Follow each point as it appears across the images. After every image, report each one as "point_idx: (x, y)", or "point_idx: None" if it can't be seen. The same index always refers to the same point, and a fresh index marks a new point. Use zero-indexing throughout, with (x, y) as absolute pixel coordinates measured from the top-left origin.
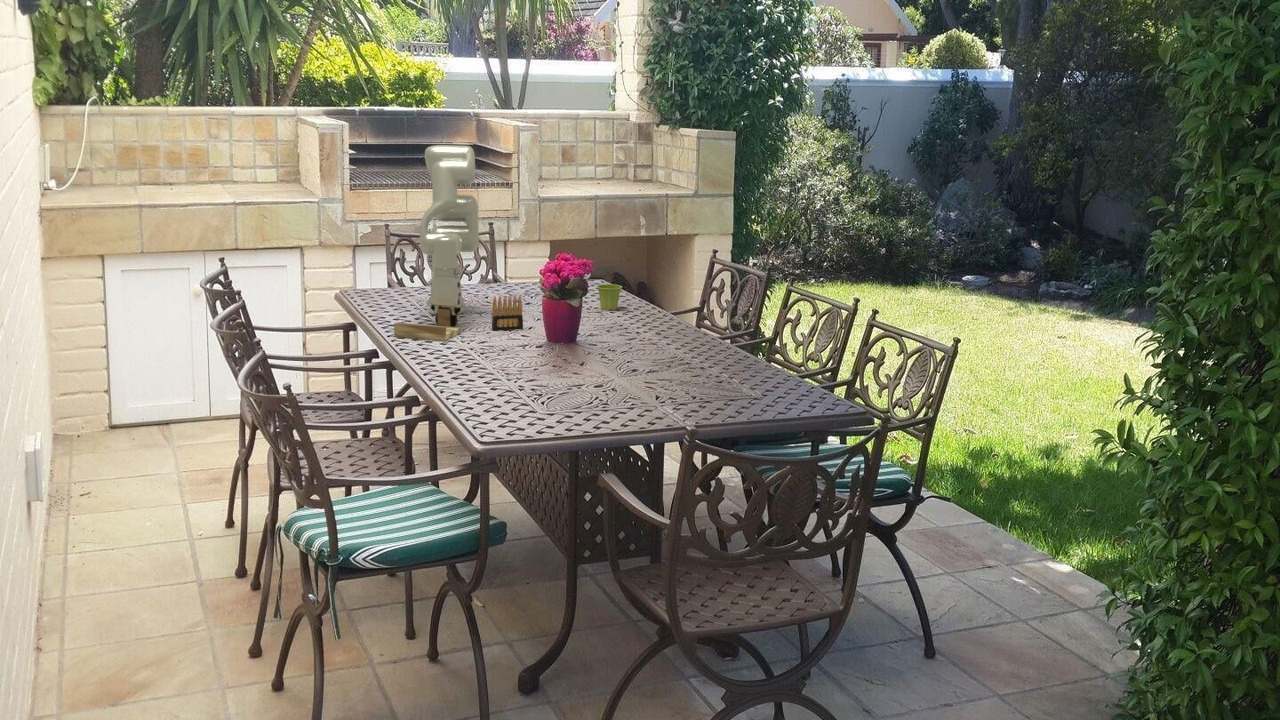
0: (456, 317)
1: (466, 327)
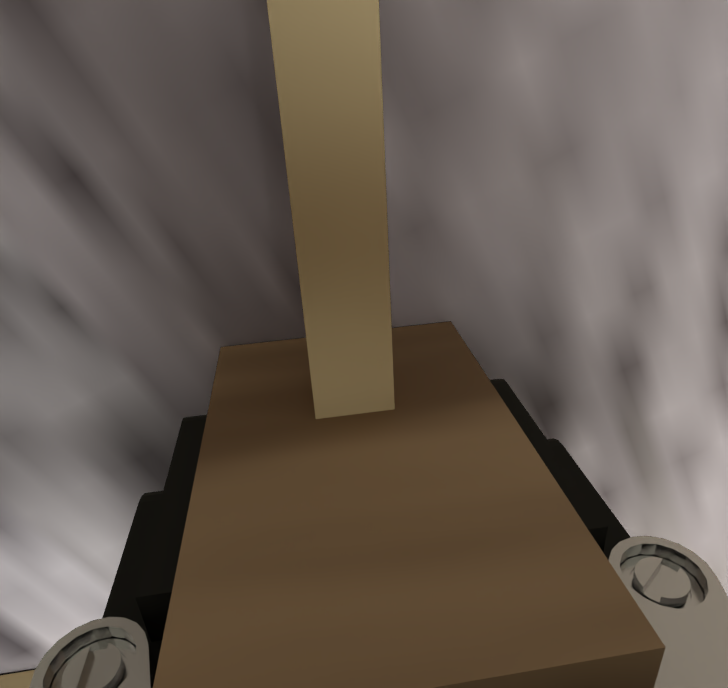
0: (608, 528)
1: (627, 212)
